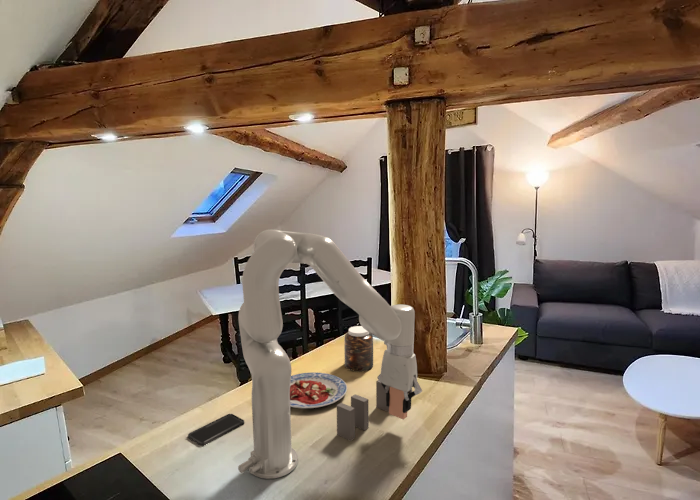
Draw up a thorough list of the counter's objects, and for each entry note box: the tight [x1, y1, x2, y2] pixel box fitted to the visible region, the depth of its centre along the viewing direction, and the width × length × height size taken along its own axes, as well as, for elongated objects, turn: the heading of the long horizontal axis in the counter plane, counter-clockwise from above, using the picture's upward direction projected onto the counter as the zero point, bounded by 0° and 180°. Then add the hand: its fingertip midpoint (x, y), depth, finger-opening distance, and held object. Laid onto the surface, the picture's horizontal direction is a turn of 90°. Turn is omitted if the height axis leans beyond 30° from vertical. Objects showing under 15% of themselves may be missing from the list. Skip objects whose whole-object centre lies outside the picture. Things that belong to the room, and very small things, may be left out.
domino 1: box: [336, 402, 356, 442], centre depth 122 cm, size 2×5×9 cm, turn 51°
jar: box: [343, 325, 374, 373], centre depth 169 cm, size 12×12×15 cm
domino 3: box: [375, 379, 389, 413], centre depth 137 cm, size 2×5×9 cm, turn 51°
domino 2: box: [350, 394, 370, 431], centre depth 127 cm, size 2×5×9 cm, turn 51°
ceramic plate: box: [290, 371, 348, 409], centre depth 147 cm, size 26×26×3 cm
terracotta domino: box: [388, 387, 408, 420], centre depth 124 cm, size 2×5×9 cm, turn 51°
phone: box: [187, 413, 245, 447], centre depth 126 cm, size 8×1×15 cm
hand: (398, 407), depth 125 cm, fingers closed on terracotta domino, 4 cm apart
